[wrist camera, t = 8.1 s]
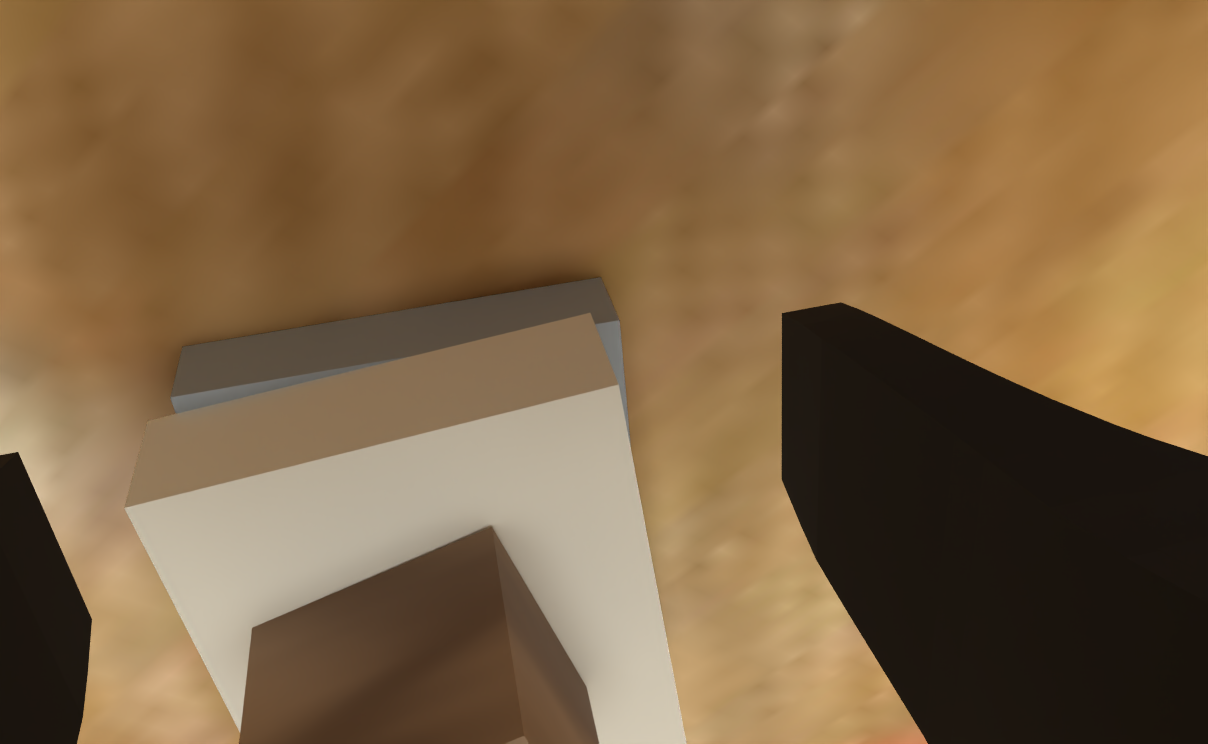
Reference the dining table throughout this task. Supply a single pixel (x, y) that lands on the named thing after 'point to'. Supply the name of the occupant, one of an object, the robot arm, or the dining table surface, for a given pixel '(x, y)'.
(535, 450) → the tower top block
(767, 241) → the dining table surface
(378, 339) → the tower base block
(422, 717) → the walnut cube
